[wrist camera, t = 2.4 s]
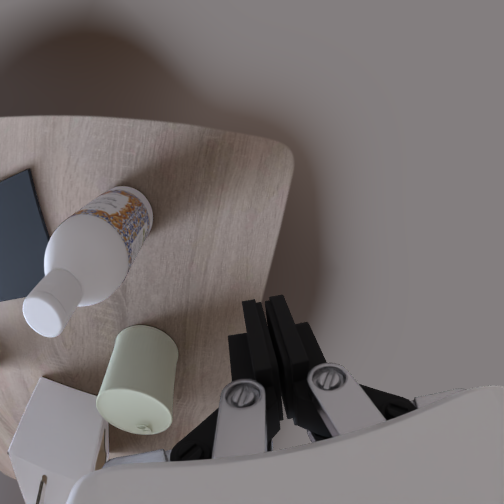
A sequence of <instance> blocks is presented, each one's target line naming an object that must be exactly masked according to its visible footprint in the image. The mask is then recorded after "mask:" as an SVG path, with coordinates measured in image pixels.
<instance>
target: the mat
mask: <svg viewBox="0 0 504 504" xmlns="http://www.w3.org/2000/svg"><path fill="white" fill-rule="evenodd" d="M49 240H50V237H49V234H48V231H47V228H46V225H45V222H44V219H43V215H42V212H41V209H40V205H39V202H38V198H37V195H36V191H35V187H34V183H33V179H32V175H31V171H30V169H27V170H25V171H23V172H21V173H18V174H16V175H14V176H12V177H10V178H8V179H5V180H3V181H1V182H0V302H1V301H6V300H12V299H17V298H22V297H27V296H28V295H29V293H30V292H31V291H32V290H33V289H34V288H35V287H36V285H37V284H38V283H39V282H40V281H41V280H42V279H43V278H44V277H45V272H44V257H45V251H46V248H47V244H48V242H49Z"/></svg>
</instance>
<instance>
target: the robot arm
mask: <svg viewBox="0 0 504 504" xmlns="http://www.w3.org/2000/svg"><path fill="white" fill-rule="evenodd" d="M269 299H270V301H265V307H266V316H267V323H266V319H265V315H264V311H263V308H262V304H261V302H258V303H256V301H255V299H254V300H248V301H242V306H243V312H244V318H245V324H246V330H247V333H243V334H236V335H230V336H228V342H229V353H230V364H231V375H232V382H231V383H229V384H228V385H226V386H225V388H224V389H223V390H222V393H221V396H220V403H219V408H218V409H216V410H215V411H214V412H213V413H212V414H211V415H210V416H209V417H208V418H206V419H205V420H204V421H203V422H202V423H201V424H200V425H198V426H197V427H196V428H195V429H194V430H193V431H191V432H190V433H189V434H188V435H187V436H186V437H184V438H183V439H182V440H181V441H180V442H178V443H177V444H176V445H175V446H174V447H173V449H172V450H168V451H165V450H164V449H160V450H155V451H150V452H145V453H140V454H135V455H129V456H123V457H117V458H113V459H110V460H108V461H107V462H106V463H105V464H104V465H103V467H102V469H100V470H96V471H94V472H91V473H89V474H87V475H85V476H83V477H82V478H80V479H79V480H78V481H77V482H76V483H75V485H74V487H73V488H72V490H71V492H70V495H69V497H68V500H67V503H66V504H504V387H502V386H484V387H477V388H472V389H469V390H466V389H462V388H460V389H453V390H449V391H444V392H440V393H435V394H430V395H425V396H420V397H415V398H414V400H413V401H409V400H408V399H405V398H403V397H400V396H396V395H393V394H389V393H386V392H383V391H379V390H376V389H373V388H370V387H367V386H364V385H361V384H358V383H357V381H356V380H355V379H354V377H353V376H352V375H351V374H350V372H349V371H348V370H347V369H346V368H345V367H344V366H342V365H340V364H336V363H327V362H326V360H325V358H324V356H323V353H322V351H321V349H320V347H319V345H318V343H317V340H316V338H315V336H314V334H313V332H312V330H311V328H310V325H309V324H308V322H304V323H300V324H295V323H294V321H293V318H292V316H291V313H290V311H289V308H288V306H287V303H286V301H285V298H284V296H283V295H278V296H272V297H269ZM267 325H268V326H267ZM281 396H282V399H283V404H284V407H285V411H286V415H287V418H288V419H291V418H293V421H294V424H295V425H298V426H300V427H302V428H304V429H307V433H308V436H309V438H310V440H311V442H312V443H309V444H305V445H300V446H296V447H291V448H285V449H280V450H275V451H273V441H272V438H273V437H274V436H275V435H276V434H277V432H278V431H279V430H280V420H283V411H282V399H281Z"/></svg>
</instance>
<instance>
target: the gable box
mask: <svg viewBox="0 0 504 504" xmlns="http://www.w3.org/2000/svg"><path fill="white" fill-rule="evenodd" d="M96 399H97V396H95V395H92V394H89V393H86V392H83V391H80V390H77V389H74V388H71V387H68V386H65V385H63V384H60V383H57V382H54V381H52V380H49V379H47V378H44V377H40V379H39V381H38V383H37V385H36V387H35V389H34V391H33V393H32V395H31V397H30V400H29V402H28V404H27V406H26V408H25V411H24V413H23V415H22V418H21V420H20V422H19V425H18V427H17V429H16V432H15V434H14V437H13V439H12V442H11V444H10V447H9V450H8V455H9V456H10V459H11V462H12V466H13V469H14V472H15V475H16V478H17V481H18V484H19V487H20V490H21V492H22V495H23V498H24V500H25V503H26V504H66V503H67V500H68V497H69V495H70V492H71V490H72V488H73V487H74V485H75V483H76V482H77V481H78V480H79V479H80V478H82V477H83V476H85V475H87V474H89V473H91V472H94V471H96V470H100V469H102V467H103V465H104V464H105V463H106V462H107V461H108V457H109V430H108V422H107V421H106V420H105V419H104V418H103V417H102V416H101V415H100V413H99V412H98V410H97V407H96Z"/></svg>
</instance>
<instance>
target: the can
mask: <svg viewBox="0 0 504 504" xmlns="http://www.w3.org/2000/svg"><path fill="white" fill-rule="evenodd" d="M177 360H178V349H177V346H176V344H175V343H174V341H173V340H172V339H171V338H170V337H169V336H168V335H167V334H166V333H164V332H163V331H161V330H159V329H156V328H154V327H150V326H145V325H135V326H131V327H128V328H125V329H124V330H122V331H121V332H120V333H119V334H118V336H117V338H116V340H115V346H114V350H113V353H112V356H111V359H110V362H109V365H108V368H107V371H106V374H105V377H104V380H103V383H102V386H101V389H100V391H99V394H98V396H97V399H96V407H97V410H98V412H99V413H100V415H101V416H102V417H103V418H104V419H105V420H106V421H107V422H109V423H110V424H112V425H113V426H115V427H117V428H119V429H121V430H124V431H127V432H130V433H134V434H142V435H150V434H157V433H160V432H163V431H165V430H166V429H168V428H169V427H170V425H171V423H172V420H173V416H172V409H173V393H174V381H175V371H176V363H177Z"/></svg>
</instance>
